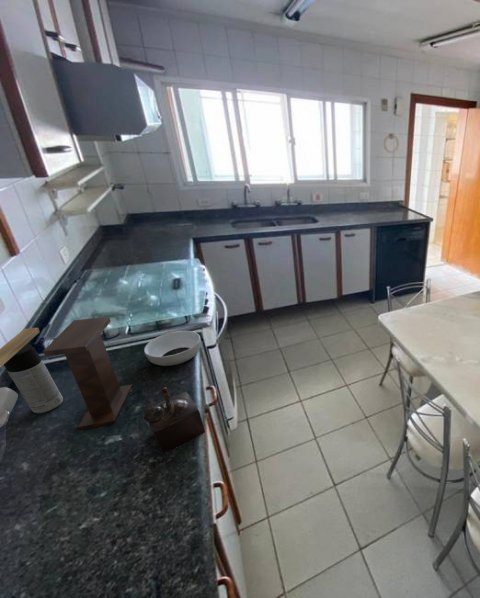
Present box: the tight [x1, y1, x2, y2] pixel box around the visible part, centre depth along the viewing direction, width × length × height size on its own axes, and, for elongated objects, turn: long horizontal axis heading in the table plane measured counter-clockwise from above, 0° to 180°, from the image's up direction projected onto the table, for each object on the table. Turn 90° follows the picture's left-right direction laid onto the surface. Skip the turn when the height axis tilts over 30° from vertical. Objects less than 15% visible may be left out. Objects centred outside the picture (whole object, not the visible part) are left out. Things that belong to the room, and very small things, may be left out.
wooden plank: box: [0, 327, 40, 368], centre depth 86 cm, size 3×20×2 cm, turn 22°
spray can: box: [3, 342, 64, 414], centre depth 92 cm, size 7×7×20 cm
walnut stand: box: [42, 316, 133, 431], centre depth 92 cm, size 8×16×26 cm, turn 22°
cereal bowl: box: [143, 330, 202, 367], centre depth 119 cm, size 17×17×7 cm
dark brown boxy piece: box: [143, 386, 206, 455], centre depth 84 cm, size 16×11×18 cm
